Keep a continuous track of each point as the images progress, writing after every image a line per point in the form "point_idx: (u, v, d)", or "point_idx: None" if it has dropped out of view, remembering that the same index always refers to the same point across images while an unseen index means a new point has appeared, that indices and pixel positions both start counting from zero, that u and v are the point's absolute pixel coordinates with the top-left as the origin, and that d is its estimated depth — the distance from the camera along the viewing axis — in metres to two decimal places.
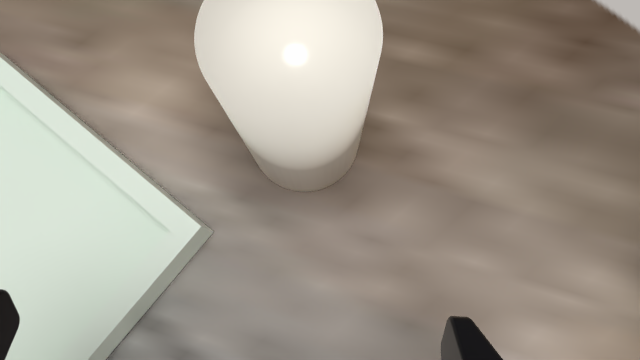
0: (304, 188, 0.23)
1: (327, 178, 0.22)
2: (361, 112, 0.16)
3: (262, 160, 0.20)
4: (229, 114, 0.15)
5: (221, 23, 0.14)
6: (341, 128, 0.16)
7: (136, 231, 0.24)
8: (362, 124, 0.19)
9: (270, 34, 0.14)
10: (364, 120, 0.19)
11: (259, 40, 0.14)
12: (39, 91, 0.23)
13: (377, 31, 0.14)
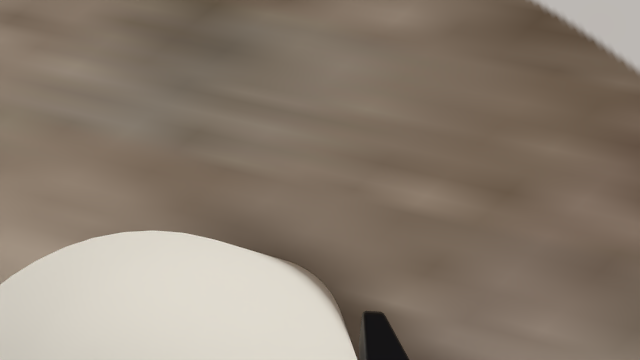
0: None
1: None
2: None
3: None
4: None
5: None
6: None
7: None
8: None
9: None
10: None
11: None
12: None
13: None
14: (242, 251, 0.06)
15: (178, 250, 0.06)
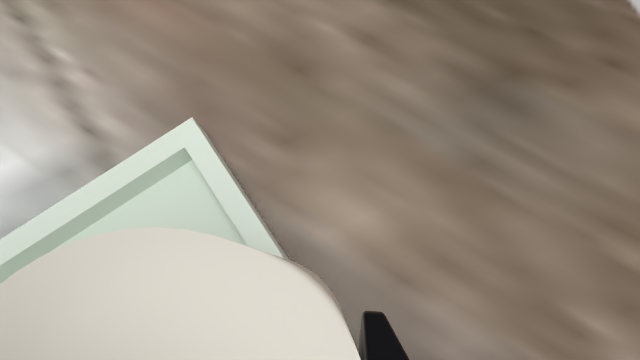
0: None
1: None
2: None
3: None
4: None
5: None
6: None
7: None
8: None
9: None
10: None
11: None
12: (247, 204, 0.21)
13: None
14: (245, 248, 0.06)
15: (181, 246, 0.06)
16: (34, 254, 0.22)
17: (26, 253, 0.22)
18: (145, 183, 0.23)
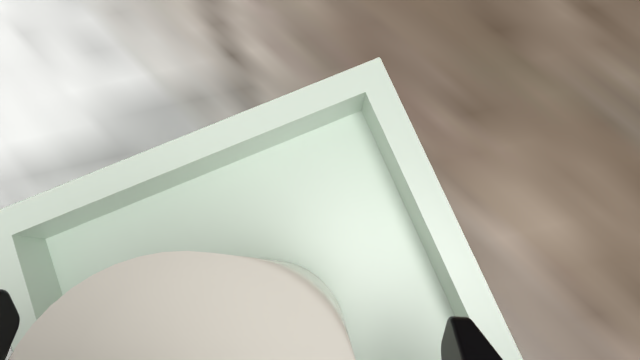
0: None
1: None
2: None
3: None
4: None
5: None
6: None
7: None
8: None
9: None
10: None
11: None
12: (435, 178, 0.17)
13: None
14: (258, 267, 0.07)
15: (207, 267, 0.07)
16: (152, 188, 0.18)
17: (145, 186, 0.17)
18: (300, 129, 0.18)
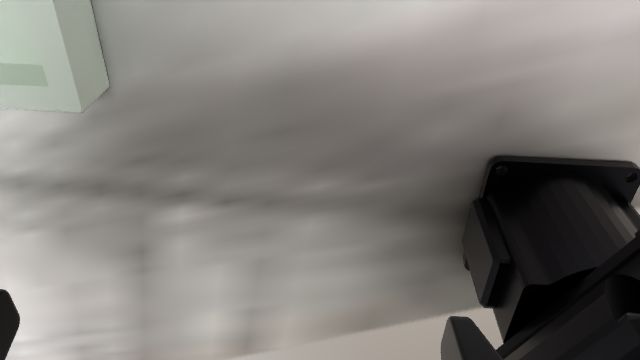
0: None
1: None
2: None
3: None
4: None
5: None
6: None
7: None
8: None
9: None
10: None
11: None
12: None
13: None
14: None
15: None
16: None
17: None
18: None
